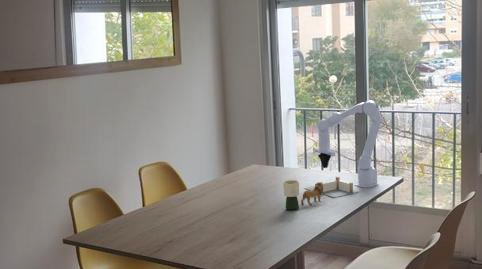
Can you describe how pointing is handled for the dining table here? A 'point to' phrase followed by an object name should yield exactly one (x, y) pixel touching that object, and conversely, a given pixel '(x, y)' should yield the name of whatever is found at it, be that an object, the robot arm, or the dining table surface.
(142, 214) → the dining table surface
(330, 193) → the card
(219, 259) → the dining table surface
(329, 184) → the hinged fence panel
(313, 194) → the lion figurine
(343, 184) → the fixed fence panel
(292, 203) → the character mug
